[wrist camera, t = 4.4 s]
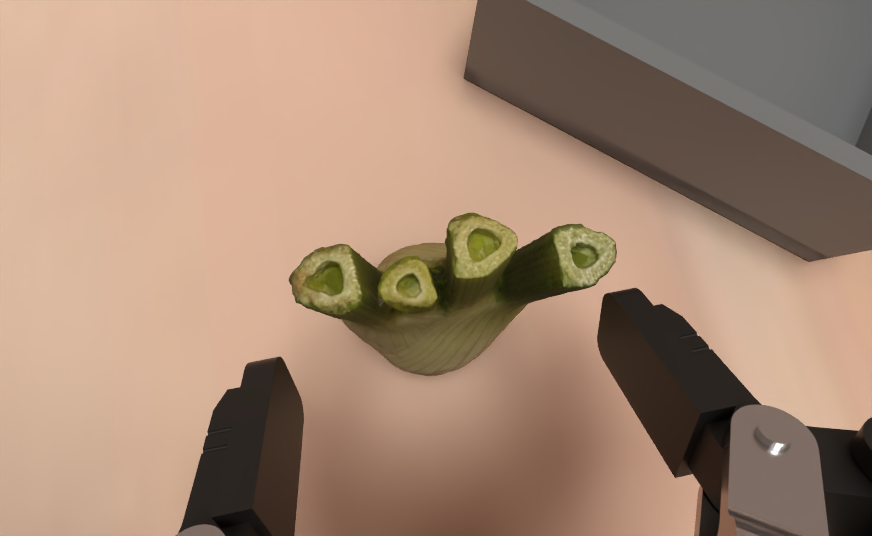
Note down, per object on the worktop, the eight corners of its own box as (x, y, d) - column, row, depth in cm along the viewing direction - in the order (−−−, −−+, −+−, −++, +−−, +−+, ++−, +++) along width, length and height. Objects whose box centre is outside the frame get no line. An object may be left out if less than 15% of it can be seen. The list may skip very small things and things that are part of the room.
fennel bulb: (511, 282, 20) (651, 202, 8) (473, 392, 19) (564, 485, 7) (386, 236, 20) (339, 86, 8) (343, 343, 19) (221, 354, 7)
